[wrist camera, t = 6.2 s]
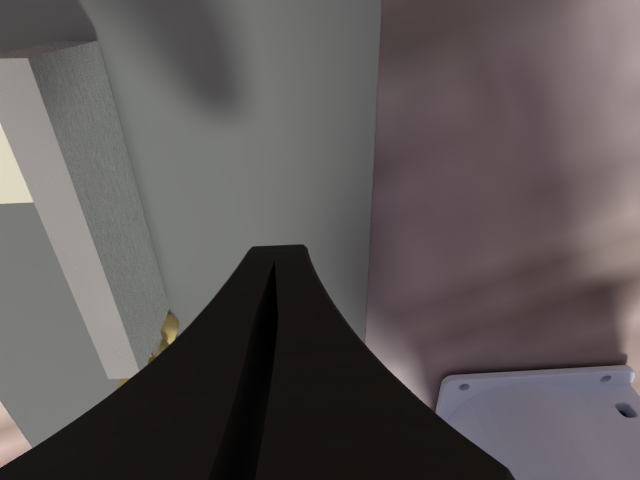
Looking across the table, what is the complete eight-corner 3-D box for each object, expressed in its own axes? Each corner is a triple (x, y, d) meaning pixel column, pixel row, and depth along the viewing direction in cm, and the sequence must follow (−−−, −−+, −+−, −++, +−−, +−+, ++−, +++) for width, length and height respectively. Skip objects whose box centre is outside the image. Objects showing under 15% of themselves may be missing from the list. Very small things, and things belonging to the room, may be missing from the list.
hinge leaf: (180, 338, 16) (156, 410, 13) (149, 340, 16) (119, 412, 13) (102, 40, 10) (33, 58, 8) (54, 41, 10) (-33, 59, 8)
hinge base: (375, -13, 11) (417, -16, 7) (356, 448, 23) (368, 540, 19) (-226, 3, 11) (-517, 10, 7) (67, 466, 22) (19, 565, 18)
